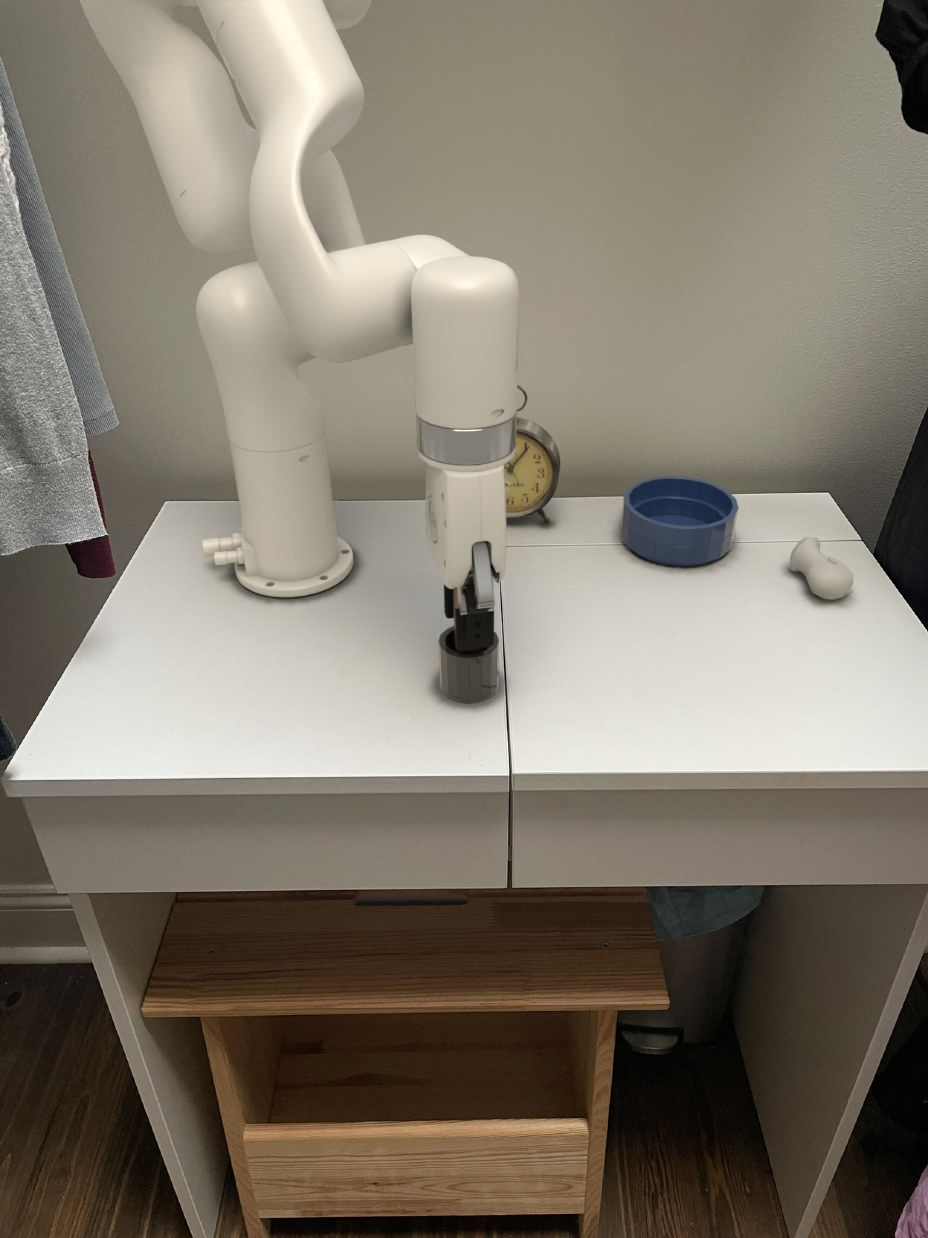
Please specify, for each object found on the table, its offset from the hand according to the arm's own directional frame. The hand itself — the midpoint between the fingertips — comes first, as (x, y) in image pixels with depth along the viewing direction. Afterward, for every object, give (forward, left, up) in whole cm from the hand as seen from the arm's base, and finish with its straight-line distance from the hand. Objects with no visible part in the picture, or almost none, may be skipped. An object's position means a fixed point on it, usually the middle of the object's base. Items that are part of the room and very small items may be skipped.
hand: (468, 628), depth 82 cm
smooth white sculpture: (+39, +8, -6) cm, 40 cm away
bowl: (+28, +20, -6) cm, 35 cm away
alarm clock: (+11, +30, -6) cm, 32 cm away
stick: (0, 0, -6) cm, 6 cm away
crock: (0, 0, -6) cm, 6 cm away
